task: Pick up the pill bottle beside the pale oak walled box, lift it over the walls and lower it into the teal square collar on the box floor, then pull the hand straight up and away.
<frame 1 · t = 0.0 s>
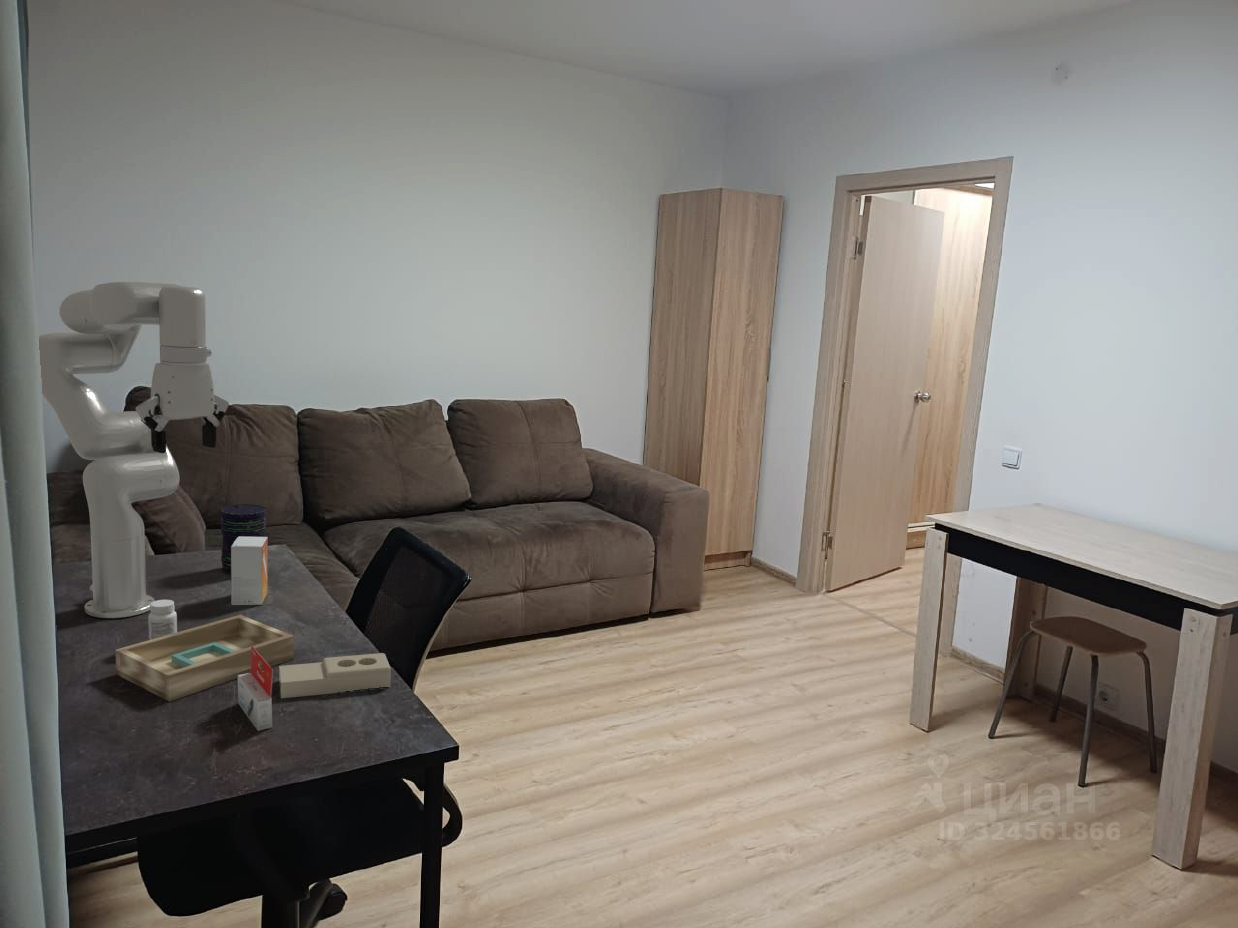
hand: (184, 449, 169), 37 cm above the table, tool pointing down, fingers open, 9 cm apart
ink cartridge box: (255, 716, 147), on the table
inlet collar: (207, 657, 163), in the walled box, point 1 cm above the table
storage jar: (243, 571, 217), on the table
pill bottle: (163, 646, 171), on the table
walled box: (207, 666, 164), on the table
beige stepped holder block: (334, 687, 160), on the table
small box: (249, 600, 199), on the table
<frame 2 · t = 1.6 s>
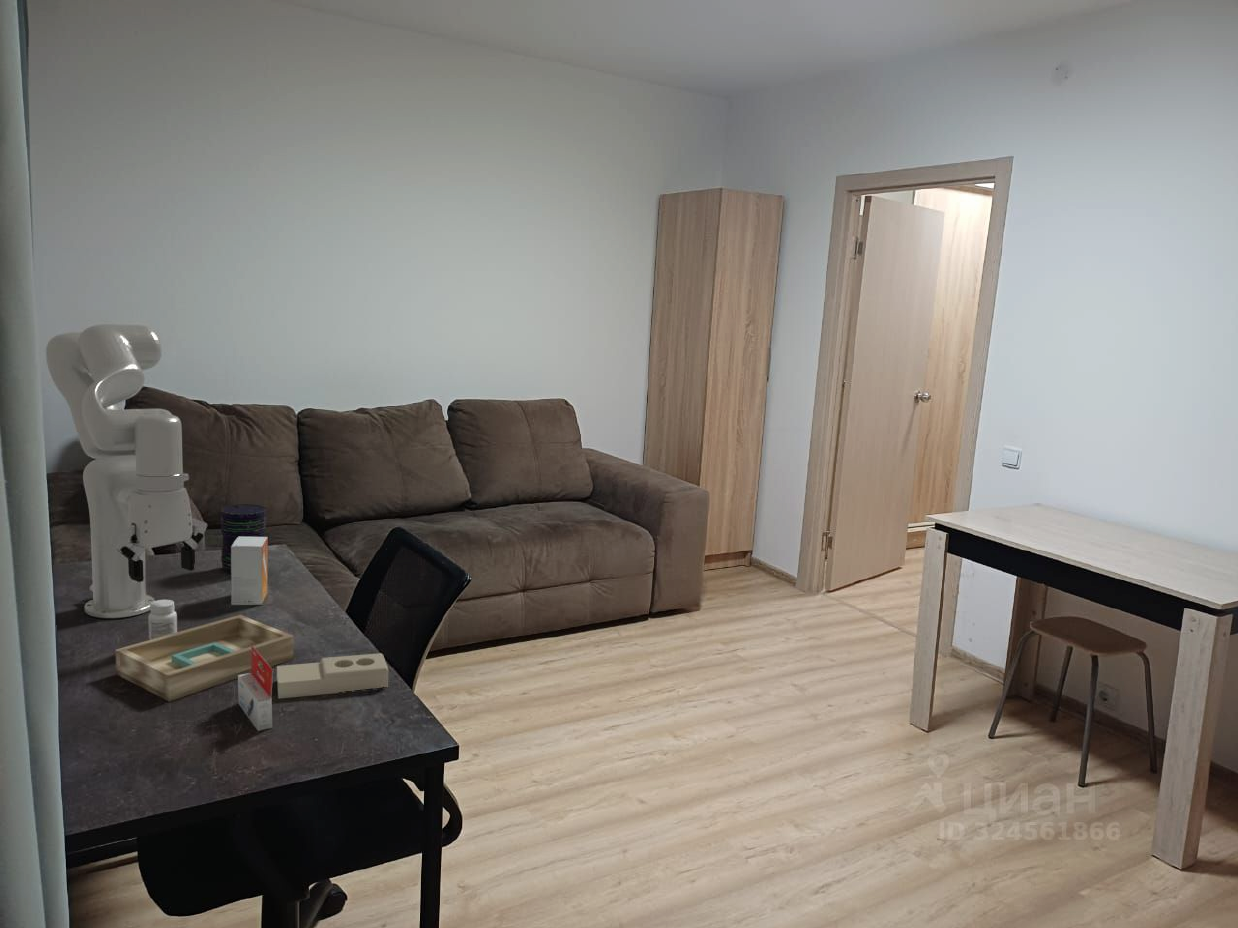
hand: (162, 574, 168), 14 cm above the table, tool pointing down, fingers open, 9 cm apart
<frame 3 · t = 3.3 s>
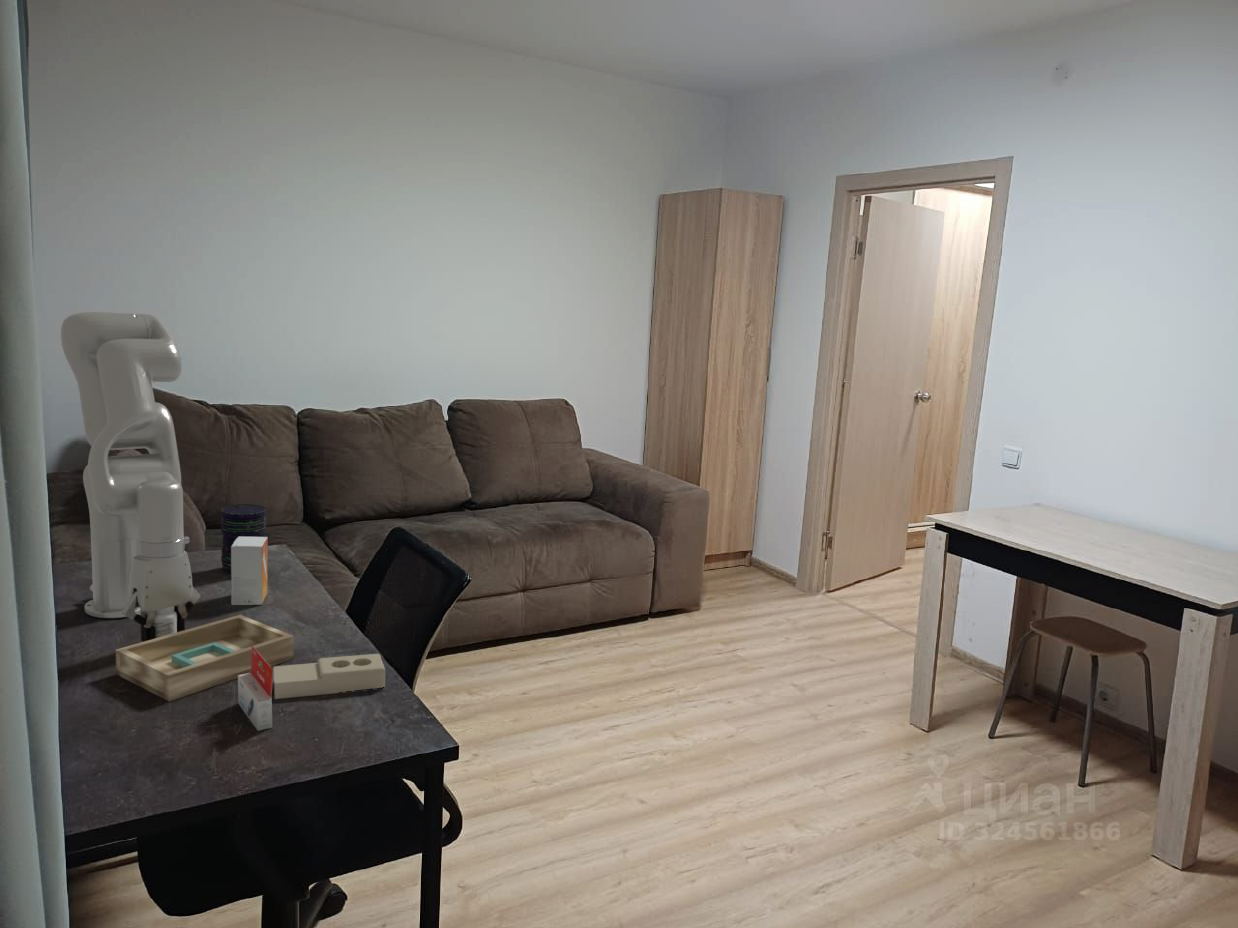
hand: (163, 640, 171), 1 cm above the table, tool pointing down, fingers closed on pill bottle, 4 cm apart
pill bottle: (163, 646, 171), on the table, touching gripper
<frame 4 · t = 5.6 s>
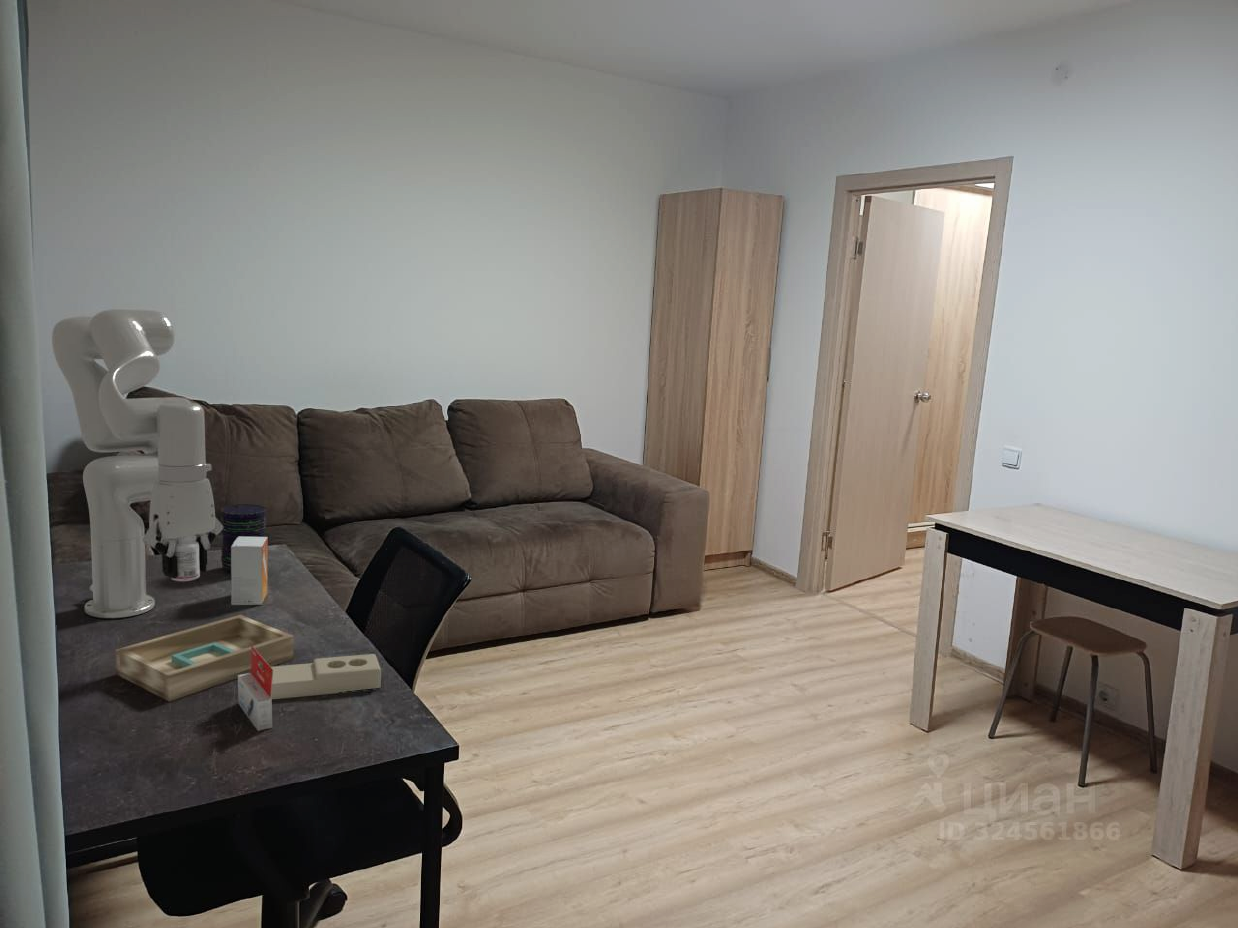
hand: (185, 572, 164), 16 cm above the table, tool pointing down, fingers closed on pill bottle, 4 cm apart
pill bottle: (185, 578, 164), point 15 cm above the table, touching gripper
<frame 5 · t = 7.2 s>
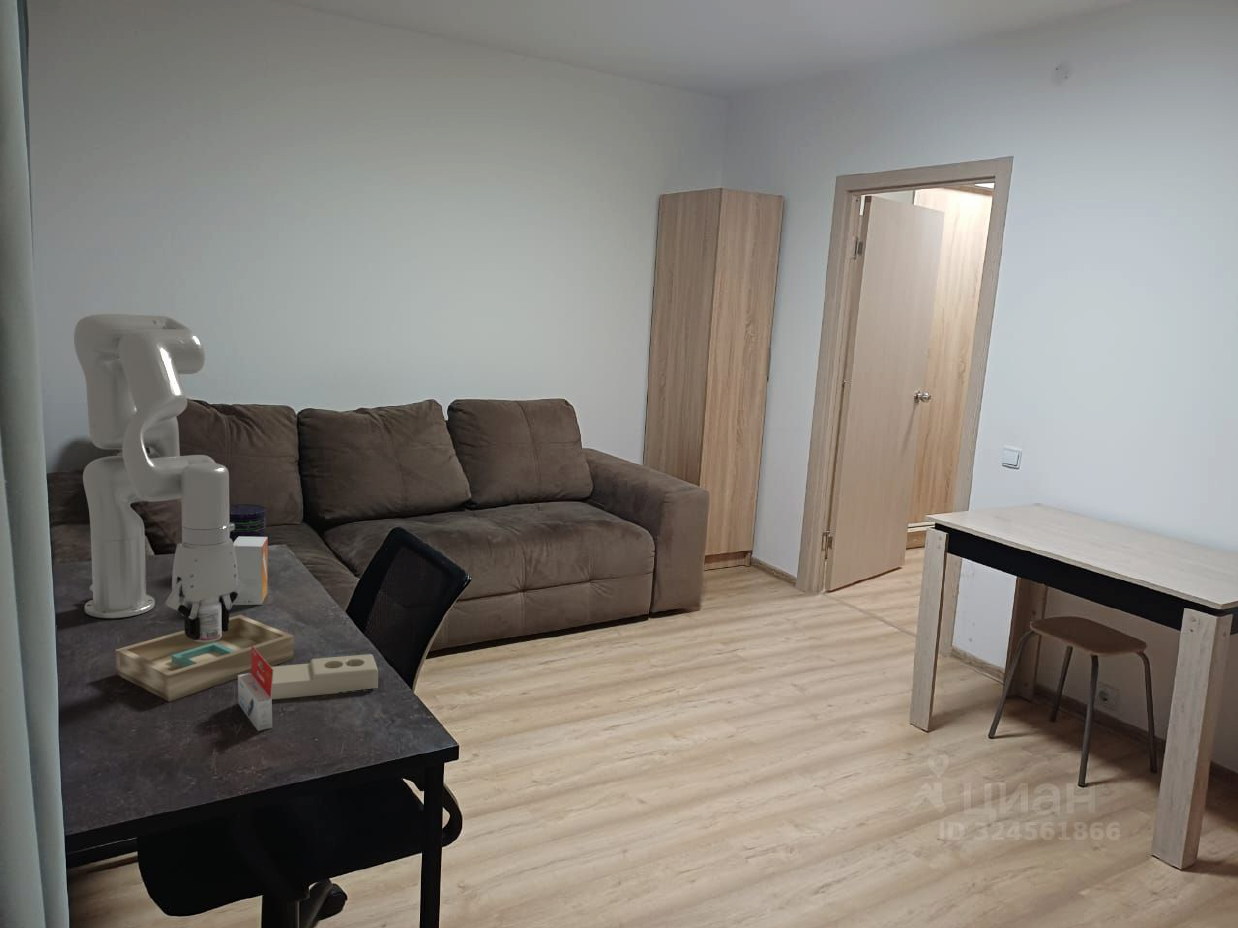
hand: (207, 632, 163), 6 cm above the table, tool pointing down, fingers closed on pill bottle, 4 cm apart
pill bottle: (207, 639, 163), point 5 cm above the table, touching gripper
when the fingers open (3 cm above the table, at t = 8.2 s): pill bottle drops 1 cm, resting on walled box.
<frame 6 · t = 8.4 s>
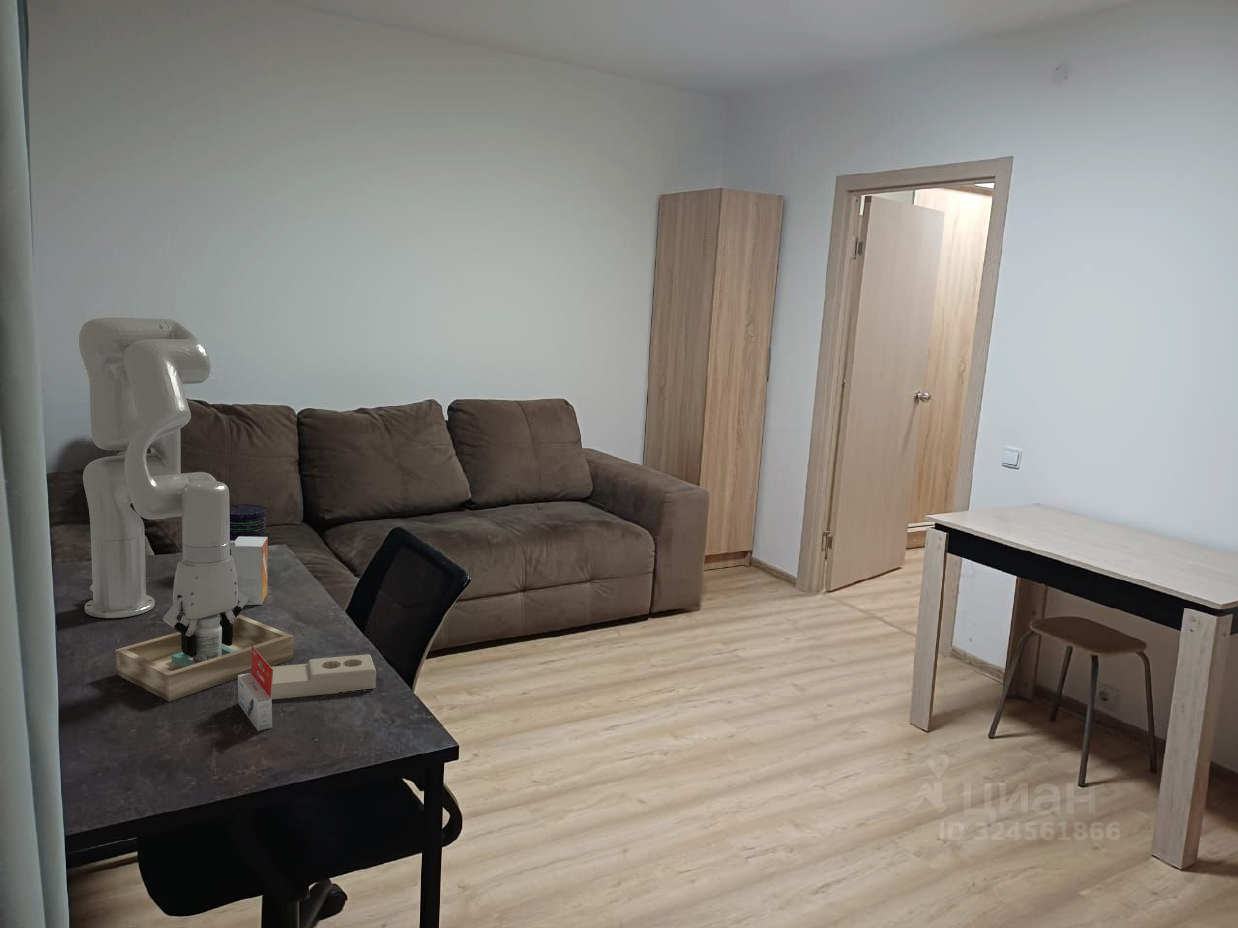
hand: (207, 648, 163), 3 cm above the table, tool pointing down, fingers open, 6 cm apart
pill bottle: (207, 661, 164), point 1 cm above the table, touching walled box
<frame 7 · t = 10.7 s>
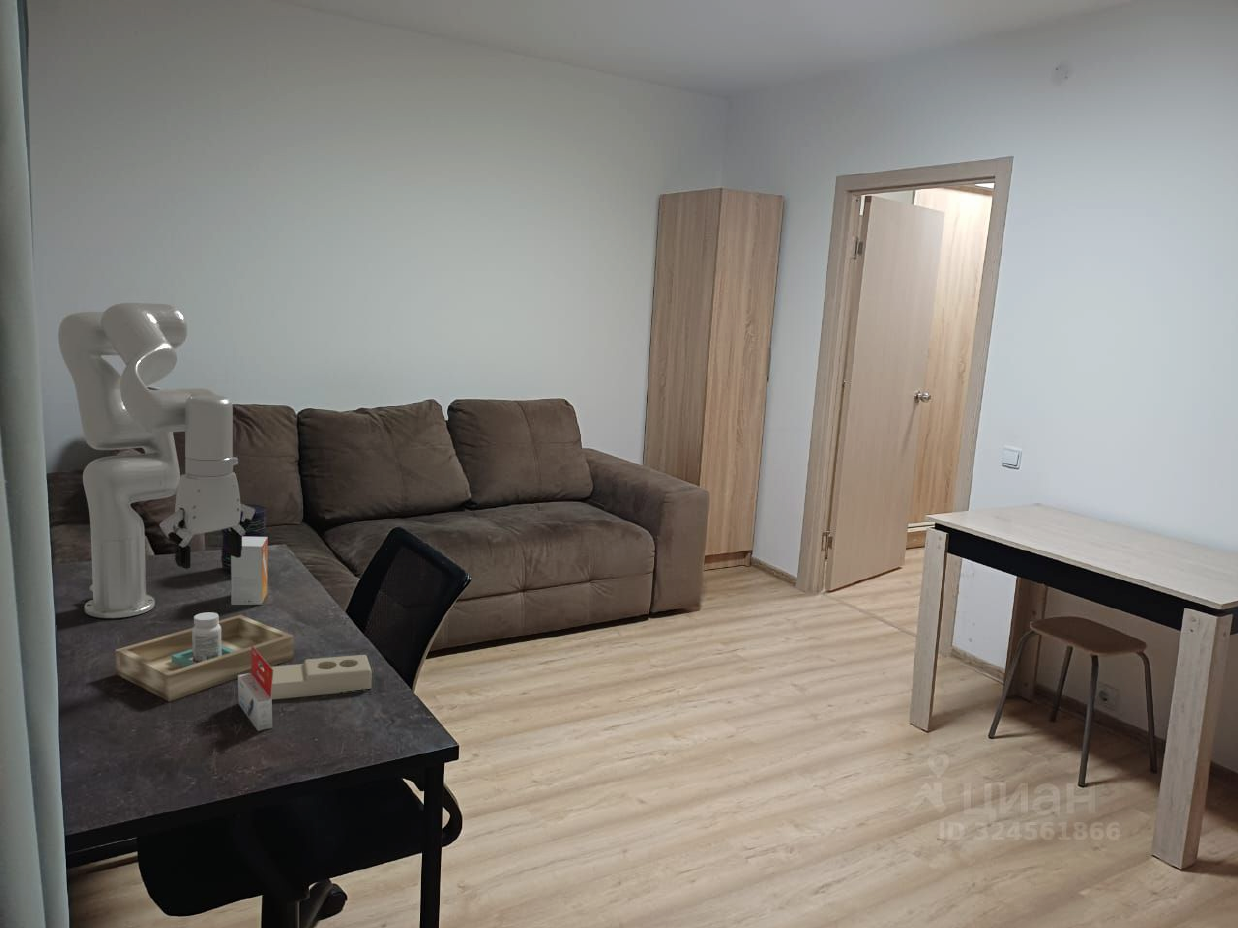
hand: (209, 561, 163), 19 cm above the table, tool pointing down, fingers open, 9 cm apart
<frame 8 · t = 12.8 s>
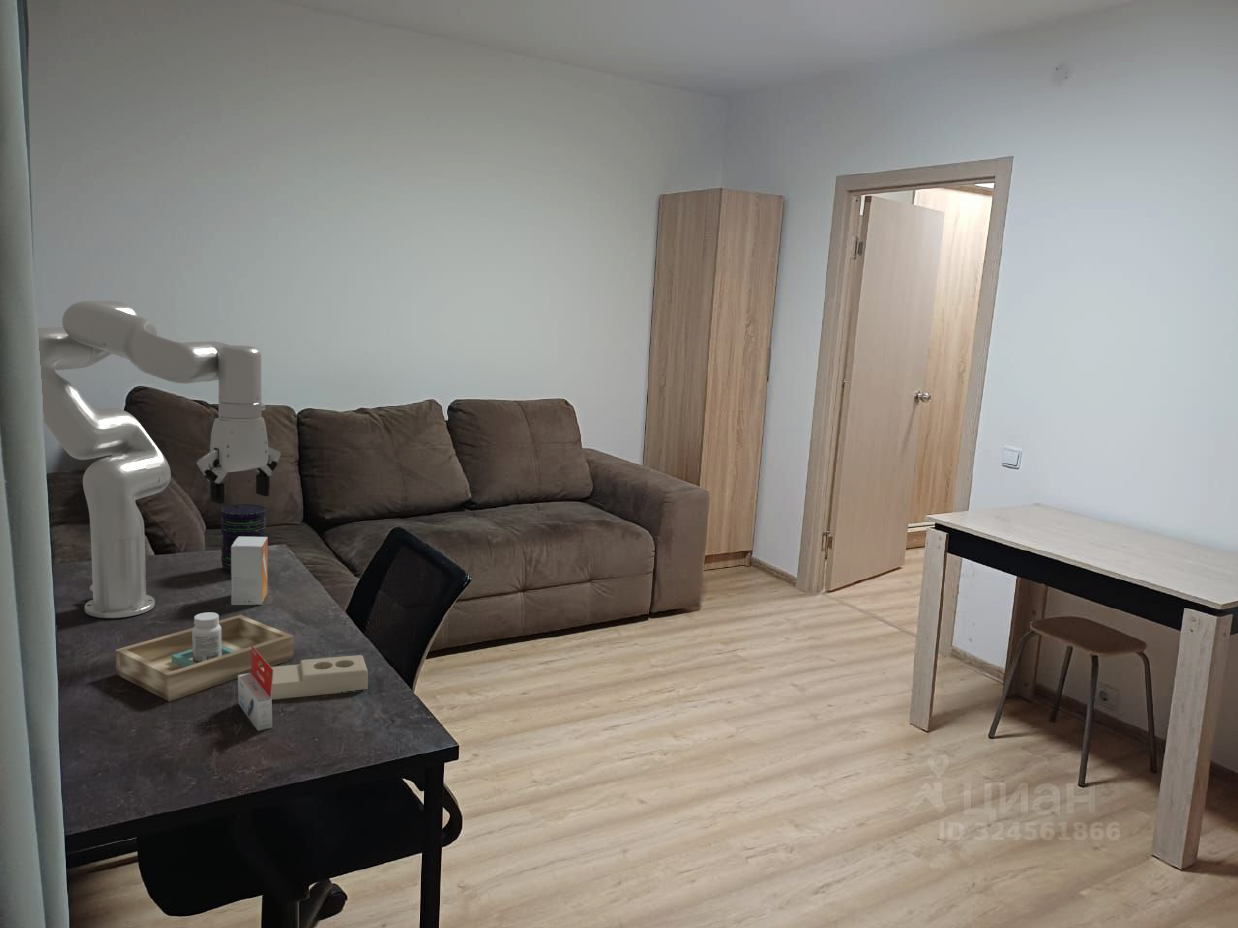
hand: (240, 498, 178), 26 cm above the table, tool pointing down, fingers open, 9 cm apart
at the end: pill bottle 0.2 cm off-centre on the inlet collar, point 0.8 cm above the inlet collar's base; pill bottle tilted 0°; the gripper is holding nothing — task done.
